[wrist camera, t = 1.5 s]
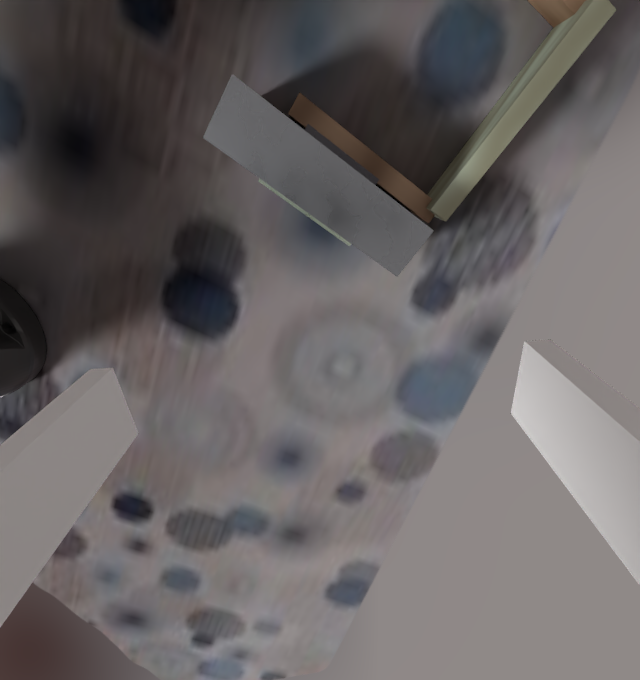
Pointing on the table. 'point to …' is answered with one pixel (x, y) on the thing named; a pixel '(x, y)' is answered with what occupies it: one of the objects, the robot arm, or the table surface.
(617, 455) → the robot arm
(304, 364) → the table surface
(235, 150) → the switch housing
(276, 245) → the table surface
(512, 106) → the bay
